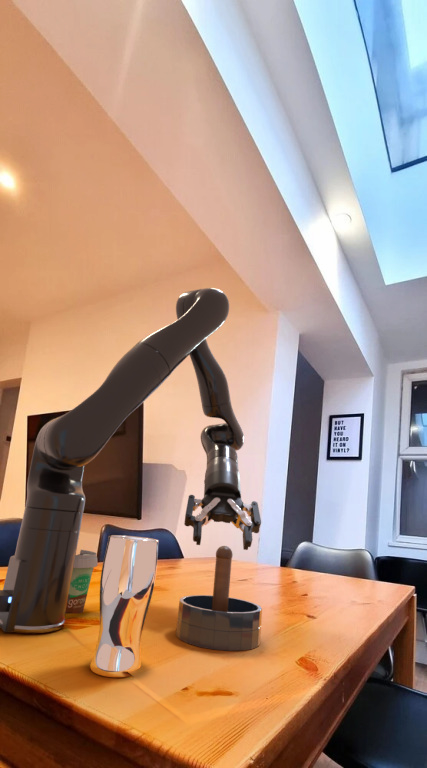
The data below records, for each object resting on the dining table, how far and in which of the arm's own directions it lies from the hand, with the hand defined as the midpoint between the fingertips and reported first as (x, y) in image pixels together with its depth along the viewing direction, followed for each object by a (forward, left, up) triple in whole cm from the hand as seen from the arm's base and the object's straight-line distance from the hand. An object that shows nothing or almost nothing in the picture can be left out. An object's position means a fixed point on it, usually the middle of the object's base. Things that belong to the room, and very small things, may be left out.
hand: (222, 544), depth 75 cm
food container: (-18, +19, -14) cm, 30 cm away
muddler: (-2, -3, -14) cm, 14 cm away
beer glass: (-22, -9, -14) cm, 28 cm away
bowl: (-2, -4, -14) cm, 15 cm away
